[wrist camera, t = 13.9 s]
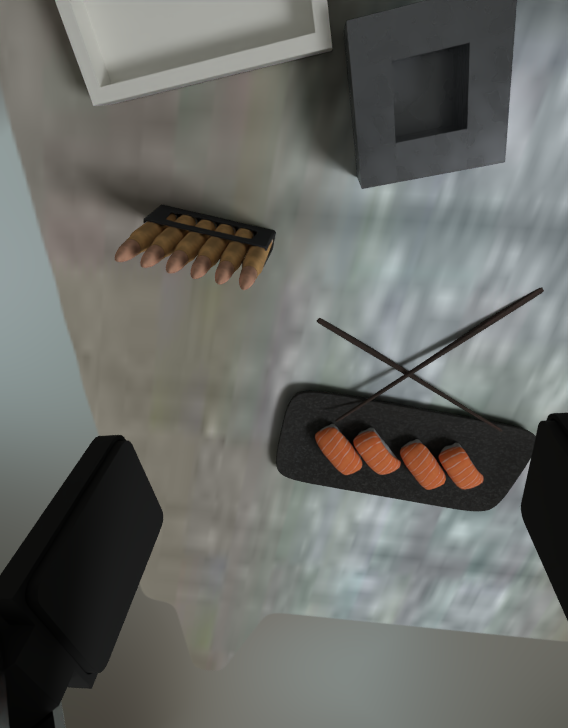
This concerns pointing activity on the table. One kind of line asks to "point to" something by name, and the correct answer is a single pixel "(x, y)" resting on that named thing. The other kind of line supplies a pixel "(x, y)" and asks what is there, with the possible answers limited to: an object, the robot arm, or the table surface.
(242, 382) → the table surface
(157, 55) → the tray
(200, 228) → the ammunition clip
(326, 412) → the sushi plate
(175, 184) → the table surface
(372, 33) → the pin block
